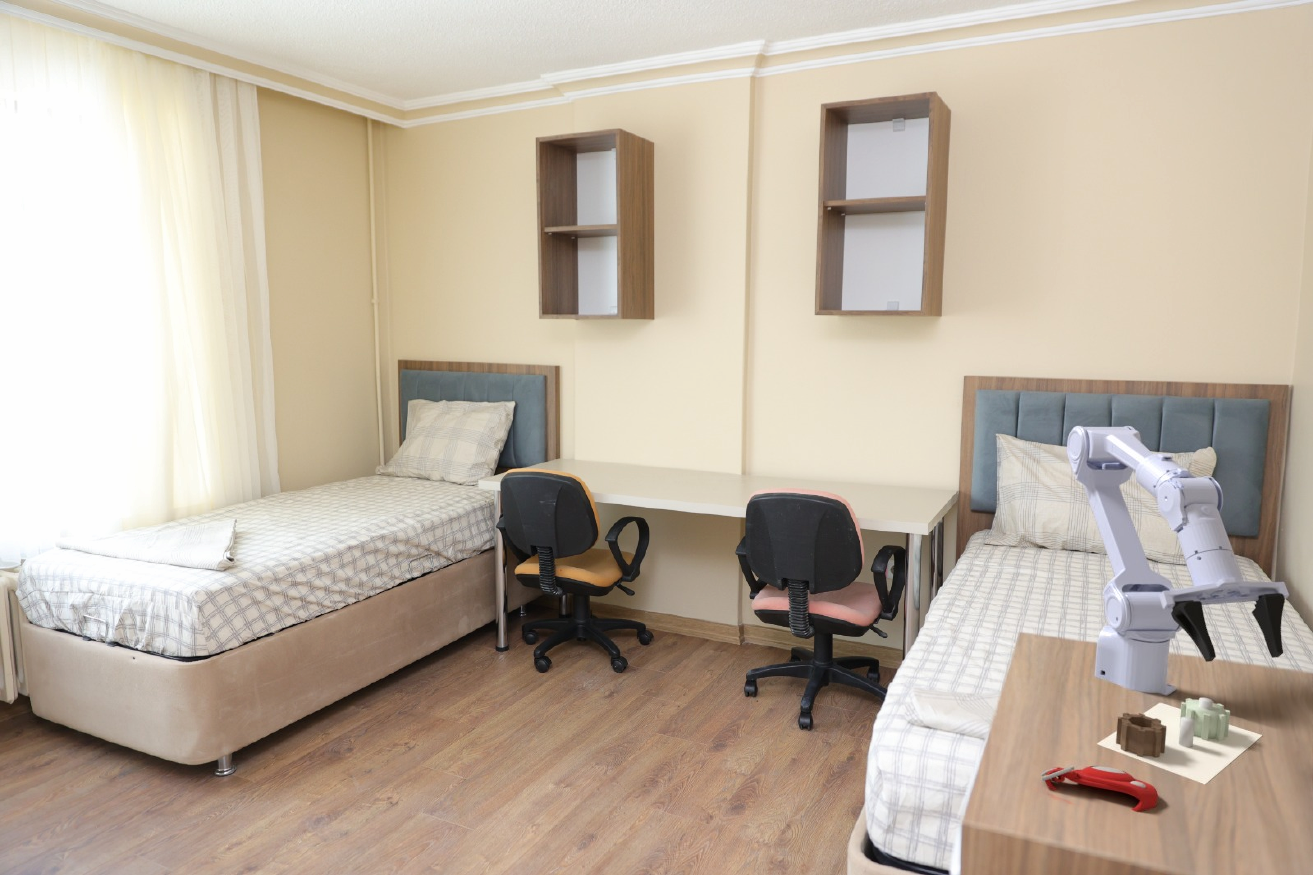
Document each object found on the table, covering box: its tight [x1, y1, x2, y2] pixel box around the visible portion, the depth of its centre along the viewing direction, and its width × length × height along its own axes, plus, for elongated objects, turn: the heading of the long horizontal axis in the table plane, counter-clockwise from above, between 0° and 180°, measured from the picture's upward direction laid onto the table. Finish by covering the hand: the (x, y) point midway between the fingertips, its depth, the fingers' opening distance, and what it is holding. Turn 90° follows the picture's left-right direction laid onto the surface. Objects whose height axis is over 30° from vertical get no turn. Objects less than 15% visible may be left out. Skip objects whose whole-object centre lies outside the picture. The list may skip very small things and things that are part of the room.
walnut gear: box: [1116, 712, 1166, 758], centre depth 116 cm, size 5×5×4 cm
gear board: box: [1096, 697, 1263, 785], centre depth 118 cm, size 13×20×6 cm, turn 129°
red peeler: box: [1040, 765, 1159, 813], centre depth 105 cm, size 12×4×10 cm
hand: (1244, 657), depth 112 cm, fingers open, 7 cm apart
